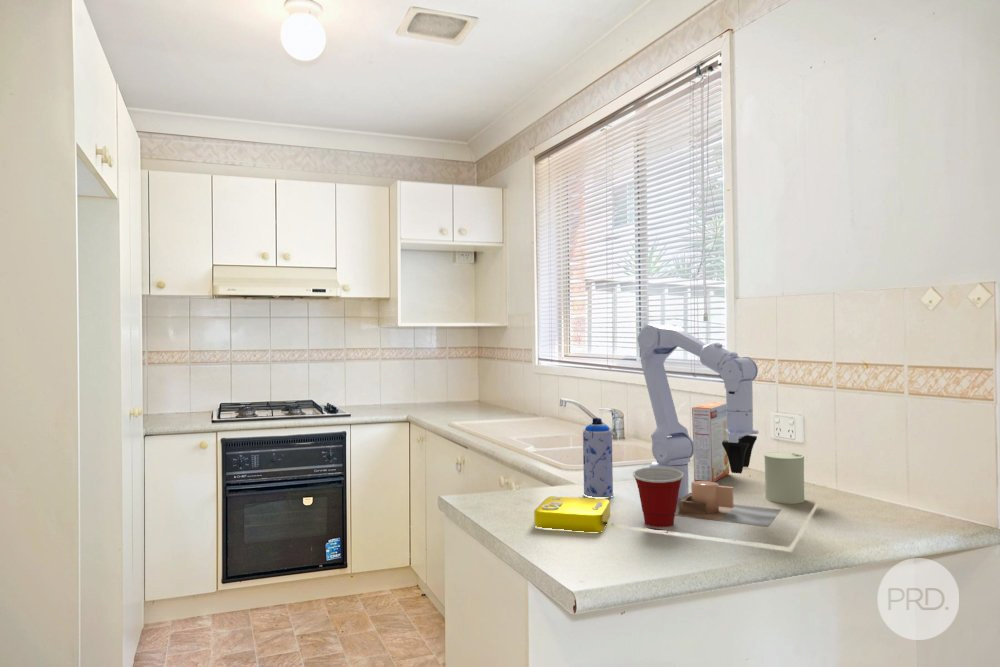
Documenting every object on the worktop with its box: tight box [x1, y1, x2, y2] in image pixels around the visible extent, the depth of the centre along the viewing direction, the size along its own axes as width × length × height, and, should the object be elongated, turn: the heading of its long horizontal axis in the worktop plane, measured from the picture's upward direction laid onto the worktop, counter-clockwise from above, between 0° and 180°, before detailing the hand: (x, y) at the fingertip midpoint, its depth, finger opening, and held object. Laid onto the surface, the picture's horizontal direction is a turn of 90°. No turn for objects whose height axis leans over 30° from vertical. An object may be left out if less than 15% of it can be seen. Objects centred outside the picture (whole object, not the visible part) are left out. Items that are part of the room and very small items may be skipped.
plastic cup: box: [632, 466, 684, 531], centre depth 153 cm, size 11×11×12 cm
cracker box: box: [691, 401, 730, 483], centre depth 203 cm, size 14×6×21 cm, turn 144°
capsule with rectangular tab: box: [690, 481, 735, 513], centre depth 163 cm, size 6×9×6 cm, turn 59°
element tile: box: [533, 495, 611, 533], centre depth 158 cm, size 15×15×5 cm
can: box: [763, 451, 806, 505], centre depth 173 cm, size 9×9×12 cm
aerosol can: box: [582, 417, 614, 497], centre depth 183 cm, size 8×8×20 cm
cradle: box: [675, 492, 782, 528], centre depth 161 cm, size 16×20×3 cm
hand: (740, 469), depth 162 cm, fingers open, 7 cm apart
